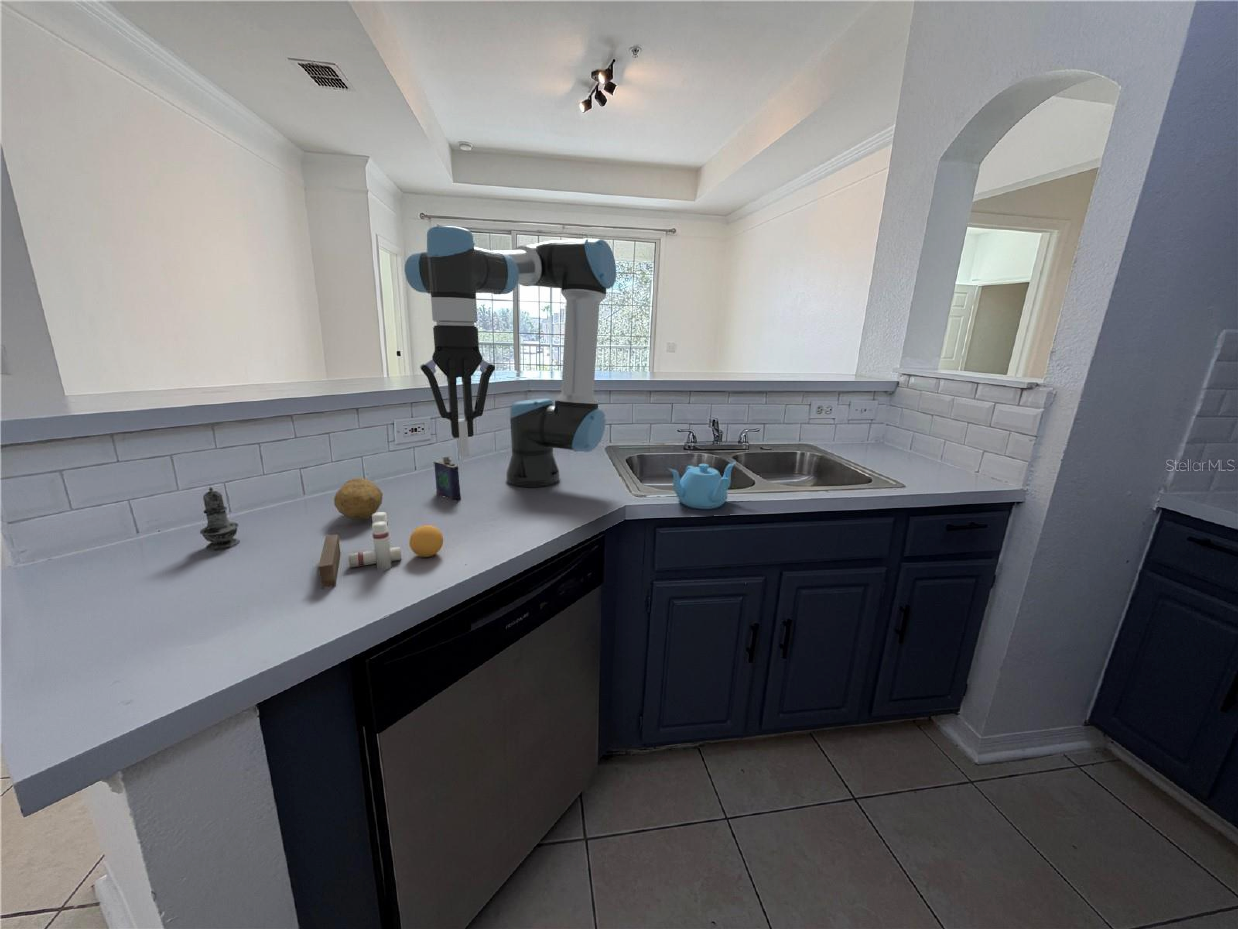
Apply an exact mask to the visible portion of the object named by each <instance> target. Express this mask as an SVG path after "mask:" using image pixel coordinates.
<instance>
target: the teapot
mask: <svg viewBox="0 0 1238 929" xmlns="http://www.w3.org/2000/svg"><path fill="white" fill-rule="evenodd" d="M736 464H737V462H736V461H733V462H730V463H728V465H727V466H726V467H725V469H724V473H723V476H722V475H721V473H720V471H718V470H717V469H715V468H713V467H709V466H710V465H709V464H707V463H699V464H698V466H694V465H688V466H687V467H686V468H685V471H684V472H685V473H684V474H683V475H682V477H681V478H680V474H679V471H677V470H676V469H672V468H668V470H669V471H670V472H671V473H672V476H673V481H672V488H673V491H674V493H675V494H676V497H677V499H678V500H679V502H681V504H682V505H684V506H687V507H689V508H693V509H698V510H712V509H713V510H714V509H717V508H720V507H721V506H722V505H723V504H725V503H726V501H727V499H728V489H729V488H730V485H731V482H732V477H731V476H732V469H733V467H734V466H735V465H736Z"/></svg>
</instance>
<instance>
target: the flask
mask: <svg viewBox="0 0 1238 929" xmlns="http://www.w3.org/2000/svg"><path fill="white" fill-rule="evenodd" d="M450 458H451V456H450V455H449V456H443V457H442V458H441V460H440V459H437V460H435V461H433V465H434V466H433V467H434V475H435V489H436V491H435V492H436V495H438V496H441V497H442V496H445V497H446V499H447V500H450V501H452V502H458V501H459V502H460V501H461V500H462V495H461V486H460V475H459V474H460V473H459V466H458V464H455V463H454V462H452V460H451V459H450ZM445 497H444V498H445Z"/></svg>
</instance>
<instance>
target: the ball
mask: <svg viewBox="0 0 1238 929" xmlns="http://www.w3.org/2000/svg"><path fill="white" fill-rule="evenodd" d="M443 545H444V536H443V533H442V531H441V530H440V529H439V528H438V527H436V526H434V525H430V524H425V525H421V526H419V527H417V528H415V529H414V530H413V531H412V532H411V535H410V537H409V547H410V549H411V551H412V552H413V553H414V554H415V555H416V556H419V557H423V558H428V557H432V556H435V555H436V554H437V553H439V551H440V550H441V549H442V548H443Z"/></svg>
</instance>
